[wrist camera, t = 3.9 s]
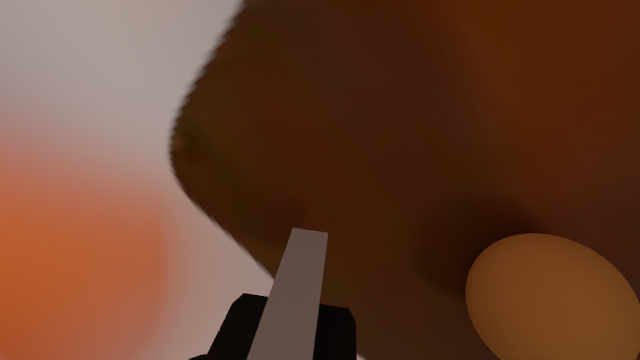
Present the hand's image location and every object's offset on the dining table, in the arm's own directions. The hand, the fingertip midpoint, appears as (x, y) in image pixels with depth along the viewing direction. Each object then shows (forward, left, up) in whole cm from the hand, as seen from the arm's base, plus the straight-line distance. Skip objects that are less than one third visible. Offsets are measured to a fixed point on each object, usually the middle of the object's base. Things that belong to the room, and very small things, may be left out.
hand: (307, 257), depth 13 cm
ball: (-10, 0, +1) cm, 10 cm away
